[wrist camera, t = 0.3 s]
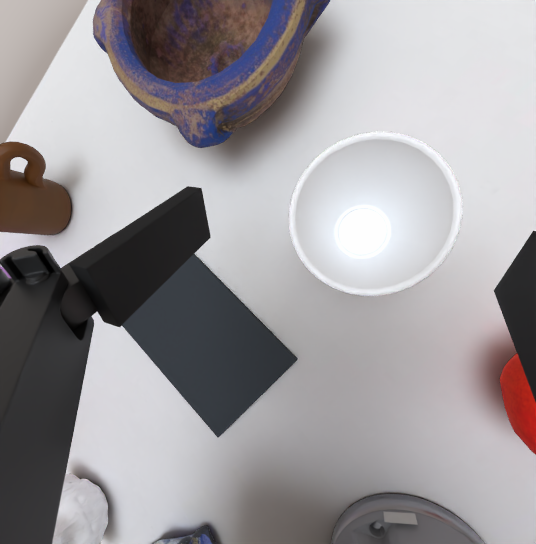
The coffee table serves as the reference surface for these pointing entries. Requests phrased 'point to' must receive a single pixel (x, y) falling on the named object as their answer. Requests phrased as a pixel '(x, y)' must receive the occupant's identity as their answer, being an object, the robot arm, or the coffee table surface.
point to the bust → (80, 513)
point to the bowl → (205, 57)
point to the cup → (375, 213)
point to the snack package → (192, 538)
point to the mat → (208, 344)
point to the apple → (519, 402)
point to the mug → (30, 195)
